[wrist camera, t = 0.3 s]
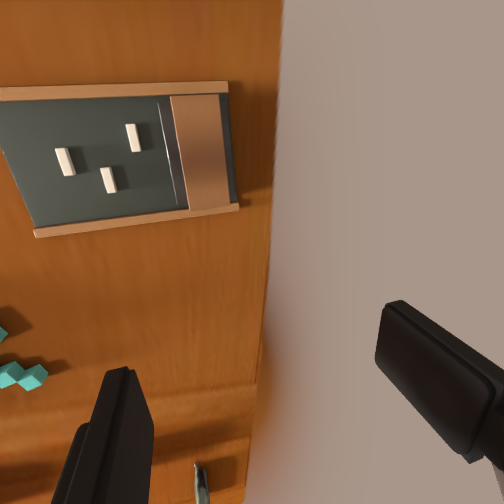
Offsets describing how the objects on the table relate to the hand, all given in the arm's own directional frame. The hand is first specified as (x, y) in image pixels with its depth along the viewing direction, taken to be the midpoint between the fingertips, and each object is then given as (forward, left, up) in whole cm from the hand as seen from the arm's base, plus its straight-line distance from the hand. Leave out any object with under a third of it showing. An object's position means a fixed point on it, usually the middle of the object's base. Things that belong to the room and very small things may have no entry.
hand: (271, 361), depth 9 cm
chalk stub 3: (-8, -7, -30) cm, 32 cm away
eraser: (-6, 0, -30) cm, 31 cm away
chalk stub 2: (-4, -11, -30) cm, 32 cm away
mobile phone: (+66, -10, -31) cm, 74 cm away
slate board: (-6, -8, -31) cm, 32 cm away
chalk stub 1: (-6, -15, -30) cm, 34 cm away
